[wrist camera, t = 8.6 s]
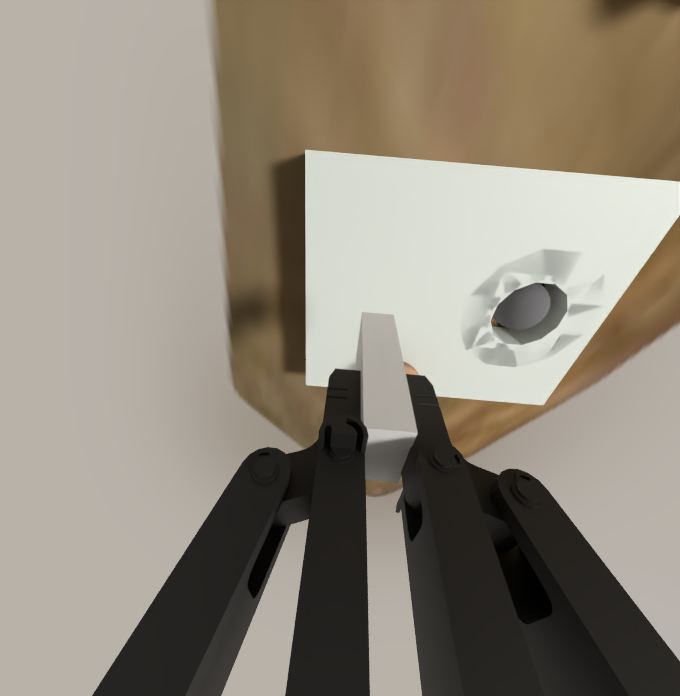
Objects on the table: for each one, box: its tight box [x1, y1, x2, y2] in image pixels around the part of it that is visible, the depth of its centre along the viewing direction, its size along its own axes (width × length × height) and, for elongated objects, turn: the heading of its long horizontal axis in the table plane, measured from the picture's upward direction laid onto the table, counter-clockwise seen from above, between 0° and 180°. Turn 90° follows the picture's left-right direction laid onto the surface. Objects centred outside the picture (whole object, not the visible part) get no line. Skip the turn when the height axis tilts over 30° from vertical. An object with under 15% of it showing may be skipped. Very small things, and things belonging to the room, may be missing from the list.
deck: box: [305, 150, 680, 405], centre depth 19 cm, size 16×20×2 cm
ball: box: [493, 283, 550, 329], centre depth 19 cm, size 3×3×3 cm
